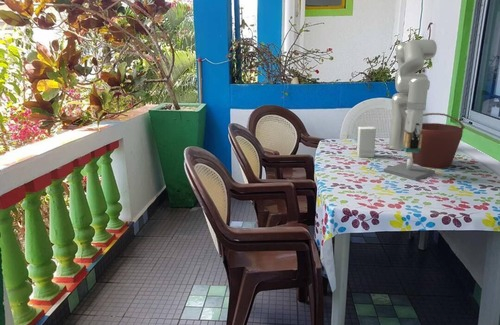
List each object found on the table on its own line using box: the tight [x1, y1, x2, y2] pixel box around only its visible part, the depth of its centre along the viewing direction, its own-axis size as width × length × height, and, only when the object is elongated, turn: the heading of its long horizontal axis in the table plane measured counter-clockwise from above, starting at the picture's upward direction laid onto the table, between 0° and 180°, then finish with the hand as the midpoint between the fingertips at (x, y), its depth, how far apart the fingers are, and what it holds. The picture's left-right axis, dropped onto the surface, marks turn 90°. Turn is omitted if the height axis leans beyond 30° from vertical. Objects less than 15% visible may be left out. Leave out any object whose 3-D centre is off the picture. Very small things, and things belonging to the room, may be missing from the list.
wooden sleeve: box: [402, 132, 422, 153], centre depth 171 cm, size 6×6×8 cm
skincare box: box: [356, 126, 377, 158], centre depth 202 cm, size 8×7×16 cm
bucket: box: [411, 112, 466, 170], centre depth 186 cm, size 24×22×25 cm
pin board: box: [382, 157, 436, 181], centre depth 174 cm, size 16×16×6 cm
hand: (411, 146), depth 171 cm, fingers closed on wooden sleeve, 6 cm apart
